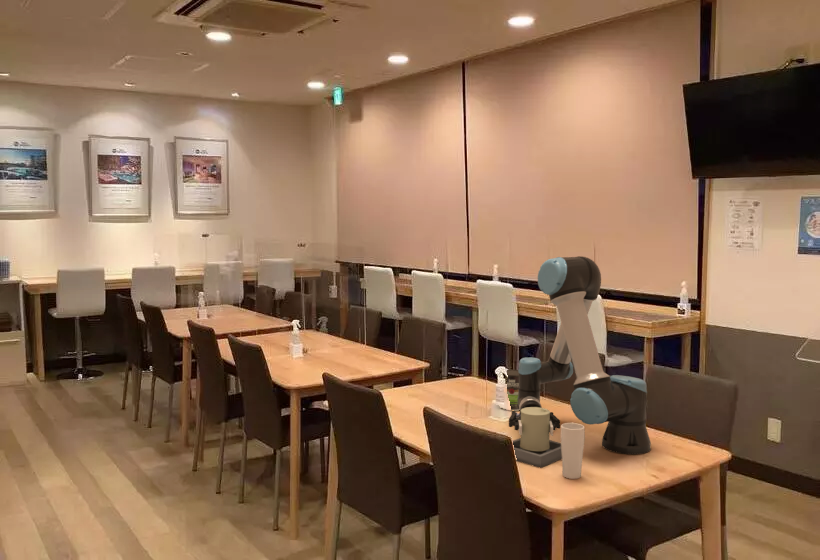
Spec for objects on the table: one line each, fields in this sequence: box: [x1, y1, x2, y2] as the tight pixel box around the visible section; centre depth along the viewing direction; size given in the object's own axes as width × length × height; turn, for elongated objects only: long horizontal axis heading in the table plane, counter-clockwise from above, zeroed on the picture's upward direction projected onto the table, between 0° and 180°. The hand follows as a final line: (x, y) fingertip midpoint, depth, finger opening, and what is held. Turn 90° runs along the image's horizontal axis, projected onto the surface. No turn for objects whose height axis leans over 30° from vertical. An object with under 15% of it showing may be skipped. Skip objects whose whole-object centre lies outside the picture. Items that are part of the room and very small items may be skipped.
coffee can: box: [506, 369, 520, 412], centre depth 286 cm, size 10×10×14 cm
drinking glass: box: [560, 422, 586, 480], centre depth 213 cm, size 7×7×15 cm
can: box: [520, 407, 551, 452], centre depth 231 cm, size 9×9×12 cm
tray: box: [512, 437, 562, 469], centre depth 231 cm, size 15×15×4 cm
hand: (536, 430), depth 226 cm, fingers closed on can, 9 cm apart
